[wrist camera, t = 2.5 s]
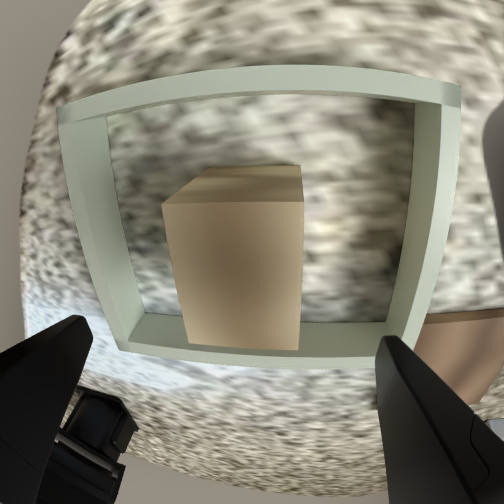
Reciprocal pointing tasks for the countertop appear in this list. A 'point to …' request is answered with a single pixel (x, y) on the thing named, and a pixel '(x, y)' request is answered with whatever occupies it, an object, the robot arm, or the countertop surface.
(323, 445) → the countertop surface
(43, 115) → the countertop surface
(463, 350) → the walnut board
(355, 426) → the countertop surface
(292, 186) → the pine block
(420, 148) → the sage bin
